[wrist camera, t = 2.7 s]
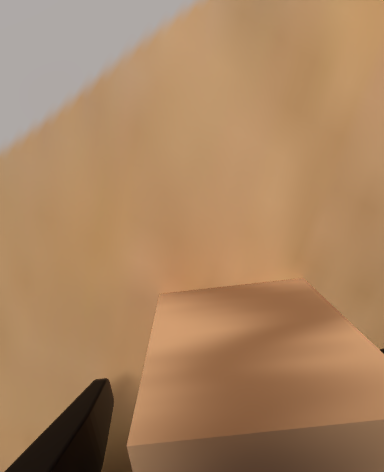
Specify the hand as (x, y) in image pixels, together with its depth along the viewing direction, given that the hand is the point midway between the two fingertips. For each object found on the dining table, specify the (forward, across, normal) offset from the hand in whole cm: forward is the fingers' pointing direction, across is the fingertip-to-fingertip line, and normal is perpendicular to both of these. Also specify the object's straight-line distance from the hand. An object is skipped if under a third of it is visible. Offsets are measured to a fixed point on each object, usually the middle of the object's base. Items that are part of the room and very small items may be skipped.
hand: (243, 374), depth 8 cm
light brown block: (+1, 0, 0) cm, 1 cm away
